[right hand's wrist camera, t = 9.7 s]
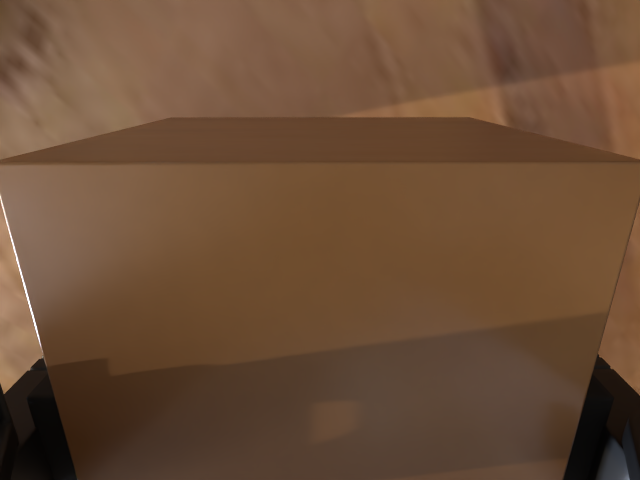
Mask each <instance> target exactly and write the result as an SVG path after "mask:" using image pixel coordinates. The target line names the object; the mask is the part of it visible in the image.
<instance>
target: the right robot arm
mask: <svg viewBox="0 0 640 480" xmlns="http://www.w3.org/2000/svg"><path fill="white" fill-rule="evenodd" d="M0 480H77V477H76V473H75V470H74V466H73V462H72V459H71V455H70V451H69V448H68V444H67V440H66V437H65V433H64V430H63V426H62V422H61V419H60V415H59V411H58V408H57V404H56V400H55V397H54V393H53V390H52V386H51V382H50V379H49V375H48V371H47V368H46V364H45V360H44V357H43V356H42V359H39V360H38V361H37V362H36V363H35V364H34V365H33V366H32V367H31V369H30V371H27V372H26V373H25V374H24V375H23V376H22V377H21V378H20V379H19V380H18V381H17V382H16V383H15V384H14V385H13V386H12V387H11V388H10V389H9V390H8V391H7V392H6V393H5V394H4V393H3V390H2V387H1V384H0ZM563 480H640V395H639V394H638V393H637V392H636V391H635V390H634V389H633V388H632V387H631V386H630V385H628V384H627V383H626V382H625V381H624V380H623V379H622V378H621V377H620V376H619V375H618V374H617V373H616V372H615V371H614V370H613V369H610V366H609V365H608V364H607V363H606V362H605V361H604V360H603V359H602V358H599V355H597V358H596V362H595V365H594V369H593V373H592V376H591V380H590V384H589V387H588V391H587V395H586V398H585V402H584V406H583V409H582V413H581V417H580V420H579V424H578V427H577V431H576V435H575V438H574V442H573V446H572V449H571V453H570V457H569V460H568V464H567V468H566V471H565V475H564V479H563Z"/></svg>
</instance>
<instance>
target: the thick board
mask: <svg viewBox="0 0 640 480" xmlns="http://www.w3.org/2000/svg"><path fill="white" fill-rule="evenodd" d="M0 200H1V204H2V208H3V211H4V215H5V219H6V222H7V226H8V230H9V233H10V237H11V240H12V244H13V248H14V251H15V255H16V259H17V262H18V266H19V270H20V273H21V277H22V280H23V284H24V288H25V291H26V295H27V299H28V302H29V306H30V310H31V313H32V317H33V320H34V324H35V328H36V331H37V335H38V339H39V342H40V346H41V350H42V353H43V357H44V360H45V364H46V368H47V371H48V375H49V379H50V382H51V386H52V390H53V393H54V397H55V400H56V404H57V408H58V411H59V415H60V419H61V422H62V426H63V430H64V433H65V437H66V440H67V444H68V448H69V451H70V455H71V459H72V462H73V466H74V470H75V473H76V477H77V480H563V479H564V475H565V471H566V468H567V464H568V460H569V457H570V453H571V449H572V446H573V442H574V438H575V435H576V431H577V427H578V424H579V420H580V417H581V413H582V409H583V406H584V402H585V398H586V395H587V391H588V387H589V384H590V380H591V376H592V373H593V369H594V365H595V362H596V358H597V355H598V351H599V347H600V344H601V340H602V336H603V333H604V329H605V325H606V322H607V318H608V314H609V311H610V307H611V303H612V300H613V296H614V293H615V289H616V285H617V282H618V278H619V274H620V271H621V267H622V263H623V260H624V256H625V252H626V249H627V245H628V241H629V238H630V234H631V231H632V227H633V223H634V220H635V216H636V212H637V209H638V205H639V201H640V160H639V159H635V158H631V157H627V156H623V155H619V154H615V153H611V152H607V151H603V150H599V149H595V148H591V147H587V146H583V145H579V144H575V143H571V142H567V141H563V140H559V139H554V138H550V137H546V136H542V135H538V134H534V133H530V132H526V131H522V130H518V129H514V128H510V127H506V126H502V125H498V124H494V123H490V122H486V121H482V120H478V119H474V118H470V117H385V118H167V119H163V120H159V121H155V122H151V123H147V124H143V125H139V126H135V127H131V128H127V129H123V130H119V131H115V132H111V133H107V134H103V135H99V136H95V137H91V138H87V139H83V140H78V141H74V142H70V143H66V144H62V145H58V146H54V147H50V148H46V149H42V150H38V151H34V152H30V153H26V154H22V155H18V156H14V157H10V158H6V159H2V160H0Z"/></svg>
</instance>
